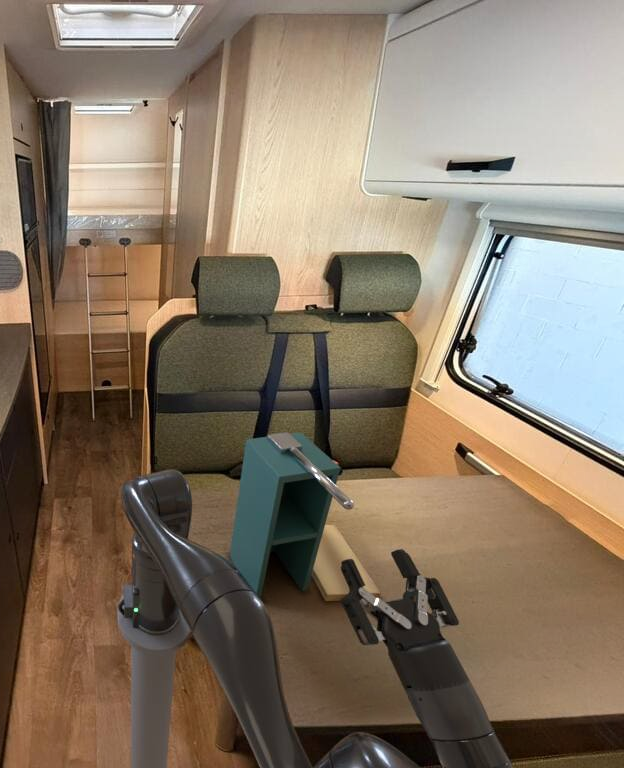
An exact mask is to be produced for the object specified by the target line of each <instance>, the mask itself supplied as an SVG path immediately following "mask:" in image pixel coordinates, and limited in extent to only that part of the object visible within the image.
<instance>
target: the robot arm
mask: <svg viewBox="0 0 624 768" xmlns="http://www.w3.org/2000/svg"><path fill="white" fill-rule="evenodd" d="M120 501H121V506H122V509H123V512H124V514H125V517H126V519H127V521H128V523H129V525H130V527H131V528H132V530H133V531H134V532H133V535H132V539H131V567H130V584H123V585H122V586H123V590H122V591H123V594H122V596H124V599H123V600H122V601H121V602H120V601H119V602H120V603H119V602H118V604H117V605H118V606H117V610H118V609H119V611H120V612H121V613H122V615H125V618H132V623H133V628H139V629H141V630H142V631H143V632H145V633H148V634H151V635H163V634H166V633H168V632H170V631H171V630H173V629H174V628H175V626H176V625H177V623H178V620H179V610H180V612H181V614H182V616H183V618H184V620H185V621H186V623H187V625H188V627H189V629H190V631H191V634H192V637H193V638H194V640H195V642H196V644H197V645H198V647H199V649H200V651H201V652H202V654H203V656H204V658H205V659H206V661H207V663H208V664H209V667H210V668H211V670H212V672H213V674H214V676H215V677H216V679H217V681H218V683H219V686H220V687H221V689H222V691H223V692H224V694H225V697H226V698H227V700H228V702H229V705H230V706H231V708H232V710H233V711H234V714H235V716H236V718H237V720H238V721H239V724H240V726H241V728H242V731H243V733H244V735H245V736H246V740H247V741H248V744H249V747H250V748H251V751H252V753H253V755H254V757H255V759H256V761H257V764H258V766H259V768H422V767H421V766H420V765H419V764H417V763H416V762H415V761H413V760H412V759H411V758H409V757H408V756H407V755H406V754H405V753H403V752H402V751H400V749H398V748H396V747H395V746H394V745H392V744H391V743H389V742H387V741H386V740H385V739H382V738H380V737H378V736H376V735H374V734H373V733H369V732H366V731H365V732H364V731H355V732H352V733H350V734H348V735H347V736H345V737H343V738H342V739H341V740H339V742H337V743H336V744H335V745H334V746H333V747H332V748H331V749H330V750H329V751H328V752H327V753H326V754H325V755H324V756H323V757H322V758H321V759H320V760H319V761H317V762H316V763H315V765H313V764H312V761H310V759H309V757H308V755H307V753H306V751H305V749H304V747H303V745H302V743H301V740H300V737H299V735H298V733H297V731H296V729H295V726H294V724H293V720H292V719H291V715H290V712H289V708H288V705H287V701H286V697H285V691H284V688H283V687H284V686H283V681H282V674H281V666H280V659H279V652H278V645H277V639H276V634H275V630H274V625H273V622H272V618H271V615H270V613H269V610H268V608H267V606H266V605H265V603H264V602H263V600H262V598H261V599H260V598H259V596H258V595H257V594H256V592H255V591H254V590H253V588H252V587H251V586H250V584H249V583H248V582H247V580H246V579H245V578H244V576H243V575H242V574H241V572H240V571H239V570H238V569H237V568H236V566H235V564H234V563H233V562H231V561H230V560H228V559H227V558H226V557H224V556H222V555H220V554H219V553H217V552H216V551H213V550H211V549H209V548H208V547H205V546H204V545H201V544H200V543H197V542H195V541H194V540H191V539H189V535H190V534H189V533H190V529H191V523H192V515H193V498H192V491H191V487H190V485H189V482H188V479H187V478H186V477H185V475H184V474H183V473H182V472H181V471H180V470H177V469H174V468H171V469H169V468H168V469H165V470H159V471H156V472H151V473H146V474H142V475H137V476H135V477H132V478H130V479H127V481H125V482H124V483H123V485H122V487H121V490H120ZM390 555H391V557H392V559H393V561H394V563H395V565H396V567H397V569H398V570H399V573H400V575H401V576H402V578H403V579H406V581H405V591H404V592H403V594H402V598H399V599H395V600H394V599H393V600H390V601H384V600H382V598H380V597H379V598H376V597H375V596H374V595H372V594H371V593H370V592H369V591H367V590H366V589H365V588H363V586H366V585H365V583H364V581H363V579H362V577H361V575H360V573H359V571H358V569H357V566H356V564H355V562H354V560H353V559H346V560H344V561H342V562H341V565H342V566H341V571H342V573H343V576H344V577H345V580H346V582H347V584H348V587H349V593H348V594H347V595H346V596H345V597H342V598H341V601H340V605H341V606H342V608H343V610H344V612H345V614H346V616H347V618H348V620H349V622H350V625H351V626H352V628H353V630H354V633H355V634H356V637H357V638H358V641H359V643H360V644H361V645H362V646H374V645H378V644H379V642H382V643H384V645H385V646H386V648H387V655H388V657H389V660H390V662H391V664H392V667H393V668H394V670H395V672H396V674H397V677H398V679H399V681H400V684H401V685H402V688H403V690H404V691H405V692H404V693H405V694H406V696H407V699H408V701H409V703H410V705H411V707H412V709H413V711H414V713H415V716H416V717H417V719H418V721H419V722H420V724H421V725H422V727H423V730H424V731H425V733H426V735H427V736H428V738H429V739H428V740H429V741H430V743H431V745H432V747H433V750H434V752H435V754H436V756H437V758H438V761H439V762H440V764H441V767H442V768H515V767H514V765H513V763H512V762H511V759H510V758H509V756H508V753H507V751H506V749H505V748H504V746H503V744H502V742H501V740H500V739H499V736H498V735H497V733H496V731H495V730H494V728H493V725H492V723H491V721H490V719H489V715H488V714H487V711H486V709H485V706H484V704H483V702H482V700H481V698H480V697H479V695H478V693H477V691H476V689H475V687H474V686H473V683H472V682H471V680H470V677H469V676H468V675H467V672H466V670H465V669H464V667H463V665H462V663H461V661H460V659H459V658H458V656H457V654H456V652H455V650H454V648H453V646H452V645H451V643H450V642H449V641H448V640H447V639H446V638H444V636H443V635H442V632H441V628H445V627H456V626H459V625H460V621H459V619H458V617H457V615H456V612H455V611H454V608H453V607H452V605H451V603H450V602H449V599H448V597H447V595H446V593H445V591H444V590H443V587H442V585H441V583H440V581H439V580H438V579H437V578H435V577H425V576H423V575H422V574H421V573H420V572H419V570H418V569H417V566H416V564H415V563H414V561H413V559H412V557H411V554H409V553H408V552H406V551H405V549H403V548H399V549H395V550H393V551H391V552H390ZM123 605H124V609H123V608H122V606H123ZM428 606H429V608H430V610H431V613H430V612H429V611H428ZM367 614H368V615H369V616H370V617H371V618H373V619H374V620H375V621H377V623H376V627H375V625H373V624H372V622H371V621H370V619H369V617H368V615H367Z"/></svg>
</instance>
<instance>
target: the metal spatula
mask: <svg viewBox="0 0 624 768" xmlns="http://www.w3.org/2000/svg"><path fill="white" fill-rule="evenodd" d="M290 434H291V433H289V432H287V431H286V432H278V433H271V434H267V435H266V437H267V441H268V442H269V443H270V444H271V445H272V446H273V447H274V448H275V449H276V450H277V451H278V452H279V453H280V454H286V453H290V454H291V455H292V456H293V457H294V458H295V459H296V460H297V461H298V462H299V463H300V464H301V465H302V466H303V467H304V468H305V469H306V470H307V471H308V472H309V473H310V474H311V475H312V476H313V477H314V478H315V479H316V480H317V481H318V482H319V483H320V484H321V485H322V486H323V487H324V488H325V489H326V490H327V491H328V492H329V493H330V494H331V495H332V496H333V499H334V500H335V501H337V503H338V504H339V505H341V507H342V508H344V509H345V510H346V511H347V510H348V511H350V510H353V509H354V507H355V503H354V502H353V500H351V499H350V498H349V496H348V495H346V494H345V492H343V491H342V490H341V489H340V488H339V486H337V484H336V485H335V484H334V483H333V482H332V481H331V480H330V479H329V478H327V477H326V476H325V475H324V474H323V473H322V472H321V471H320V470H319V469H318V468H317V467H316V466H315V465H314V464H313V463H312V462H311V461H310V460H309V459H308V458H307V457H306V456H304V455H303V454H302V453H301V452H300V451H302V447H303V446H302V445H301V444H300V443H299V442H298V441H297V440H296V439H294V438H293V437H292V436H291V435H290Z"/></svg>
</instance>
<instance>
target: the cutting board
mask: <svg viewBox="0 0 624 768" xmlns="http://www.w3.org/2000/svg"><path fill="white" fill-rule="evenodd" d="M346 559H353V560H354V562H355V564H356V566H357V569H358V571H359V573H360V575H361V577H362V579H363V581H364V583H365V585H366V586H363V588H365V589H366V590H367V591H369V592H370V593H371V594H372V595H374V596H375V597H376V598H379V599H380V596H381V591H380V590H379V589H378V586H377V585H376V584H375V582H374V581H373V580H372V578H371V577H370V575H369V574H368V572H367V571H366V569H365V568H364V566H363V564H362V563H361V561H360V560H359V559H358V557H357V556H356V554H355V553H354V551H353V550H352V548H351V547H350V546H349V544H348V543H347V541H346V540H345V539H344V536H343V535H342V534H341V532H340V531H339V529H338V528H337V526H336V525H335V524H325V527H324V531H323V534H322V538H321V542H320V545H319V549H318V553H317V556H316V560H315V564H314V567H313V571H312V575H311V578H312V579H313V581H314V583H315V584H316V586H317V588H318V590H319V592H320V594H321V595H322V598H323V599H324V601H325V602H338V601H339V602H341V598H342V597H345V596H346V595H347V594H348V593H349V587H348V584H347V582H346V580H345V577H344V576H343V573H342V571H341V566H342V565H341V562H342V561H344V560H346Z"/></svg>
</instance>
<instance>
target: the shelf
mask: <svg viewBox="0 0 624 768" xmlns="http://www.w3.org/2000/svg"><path fill="white" fill-rule="evenodd" d="M289 434H290V435H291V436H292V437H293V438H294V439H296V440H297V441H298V442H299V443H300V444H301V445H302V446H303V447H302V451H300V452H301V453H302V454H303V455H304V456H306V457H307V458H308V459H309V460H310V461H311V462H312V463H313V464H314V465H315V466H316V467H317V468H318V469H319V470H320V471H321V472H322V473H323V474H324V475H325V476H326V477H327V478H329V479H330V480H331V481H332V482H333V483H334V484H335V485H336V486H337V483H338V479H339V475H340V472H341V466H340V465H338V464H337V463H336V462H335V461H334V460H333V459H331V458H330V457H329V456H328V455H327V454H326V453H325V452H324V451H323V450H321V449H320V448H319V447H318V446H317V445H316V444H315V443H313V441H311V440H310V439H309V438H308V437H307V436H306V435H305V434H304V433H302V432H295V433H294V432H292V433H289ZM333 499H334V497H333V496H332V495H331V494H330V493H329V492H328V491H327V490H326V489H325V488H324V487H323V486H322V485H321V484H320V483H319V482H318V481H317V480H316V479H315V478H314V477H313V476H312V475H311V474H310V473H309V472H308V471H307V470H306V469H305V468H304V467H303V466H302V465H301V464H300V463H299V462H298V461H297V460H296V459H295V458H294V457H293V456H292V455H291V454H290V453H286V454H280V453H279V452H278V451H277V450H276V449H275V448H274V447H273V446H272V445H271V444H270V443H269V442H268V441H267V436H263V437H256V438H255V437H254V438H249V439H246V441H245V447H244V453H243V461H242V466H241V474H240V481H239V487H238V494H237V502H236V507H235V508H236V509H235V513H234V521H233V528H232V536H231V543H230V550H229V557H230V559H231V561H232V564H233V565H234V566H235V567H236V568H237V569H238V570H239V571H240V572H241V574H242V575H243V576H244V578H245V579H246V580H247V582H248V583H249V584H250V586H251V587H252V588H253V590H254V591H255V592H256V594H257V595H258V596H259V598H260V599H261V600H262V594H263V588H264V585H265V579H266V574H267V570H268V569H267V568H268V565H269V559H270V555H271V553H275V554H276V556H277V557H278V558H279V559H280V562H281V563H282V564H283V566H284V567H285V568H286V570H287V572H288V573H289V574H290V576H291V578H293V580H294V582H295V584H297V586H298V587H299V589H300V590H301V591H302V592H305V591H308V590H309V585H310V583H311V578H312V571H313V567H314V564H315V560H316V556H317V553H318V549H319V545H320V542H321V538H322V534H323V531H324V527H325V525H326V522H327V519H328V515H329V511H330V508H331V505H332V502H333V501H332V500H333Z"/></svg>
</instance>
